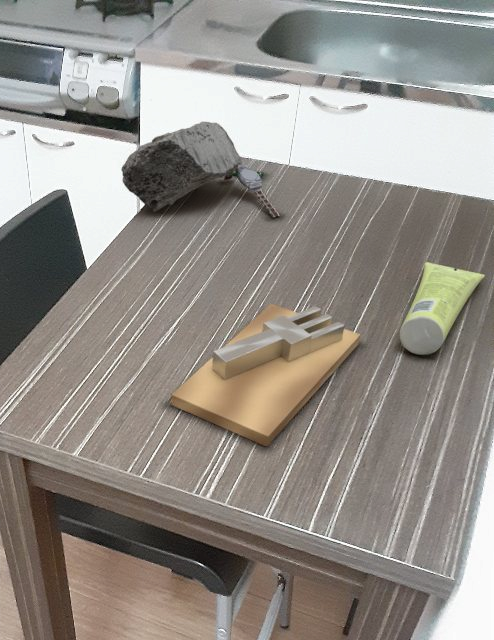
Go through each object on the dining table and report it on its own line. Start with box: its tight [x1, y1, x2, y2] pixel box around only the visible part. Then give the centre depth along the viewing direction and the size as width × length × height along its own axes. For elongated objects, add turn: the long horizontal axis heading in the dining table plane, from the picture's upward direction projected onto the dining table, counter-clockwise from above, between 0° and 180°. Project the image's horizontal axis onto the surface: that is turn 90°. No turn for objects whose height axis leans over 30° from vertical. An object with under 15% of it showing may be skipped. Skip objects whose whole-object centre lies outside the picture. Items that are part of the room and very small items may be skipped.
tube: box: [399, 261, 485, 356], centre depth 93 cm, size 6×5×20 cm
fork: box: [212, 305, 346, 380], centre depth 86 cm, size 16×5×2 cm, turn 121°
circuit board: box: [228, 171, 264, 179], centre depth 124 cm, size 6×1×2 cm
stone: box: [121, 121, 241, 213], centre depth 114 cm, size 12×18×15 cm
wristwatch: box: [223, 160, 281, 218], centre depth 117 cm, size 4×14×5 cm, turn 25°
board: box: [170, 303, 361, 448], centre depth 86 cm, size 12×22×2 cm, turn 143°
